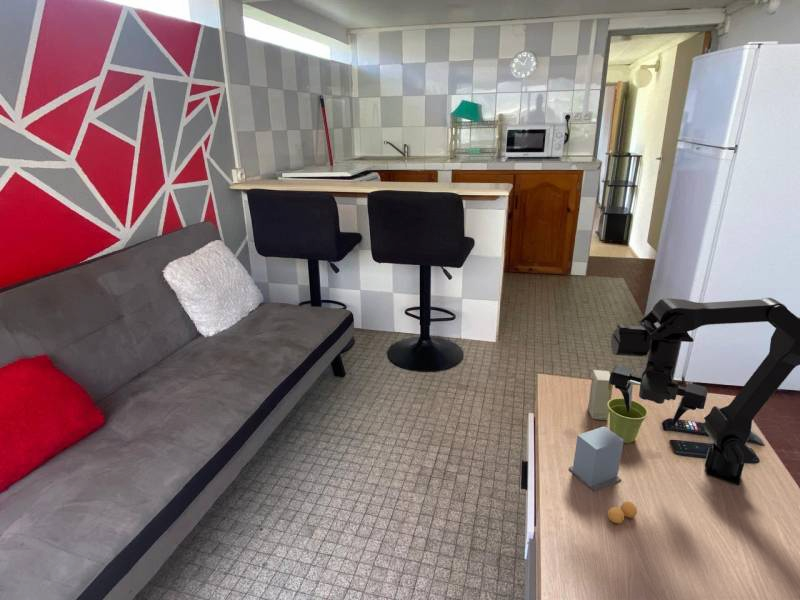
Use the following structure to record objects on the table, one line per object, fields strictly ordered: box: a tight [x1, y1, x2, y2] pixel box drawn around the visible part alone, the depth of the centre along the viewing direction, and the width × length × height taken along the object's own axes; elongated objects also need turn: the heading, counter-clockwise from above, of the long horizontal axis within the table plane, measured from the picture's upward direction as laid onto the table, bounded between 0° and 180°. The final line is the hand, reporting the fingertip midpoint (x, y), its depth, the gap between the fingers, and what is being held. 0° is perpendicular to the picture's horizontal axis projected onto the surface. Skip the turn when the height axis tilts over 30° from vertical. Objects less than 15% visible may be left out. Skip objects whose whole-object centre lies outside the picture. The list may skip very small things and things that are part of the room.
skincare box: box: [587, 369, 614, 421], centre depth 128 cm, size 6×4×12 cm
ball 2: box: [620, 501, 638, 519], centre depth 96 cm, size 3×3×3 cm
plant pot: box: [607, 397, 649, 444], centre depth 119 cm, size 9×9×9 cm
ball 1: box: [607, 506, 625, 524], centre depth 94 cm, size 3×3×3 cm
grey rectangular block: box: [572, 426, 625, 488], centre depth 105 cm, size 8×6×10 cm
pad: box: [568, 465, 622, 492], centre depth 107 cm, size 8×8×1 cm
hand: (650, 418), depth 106 cm, fingers open, 9 cm apart
